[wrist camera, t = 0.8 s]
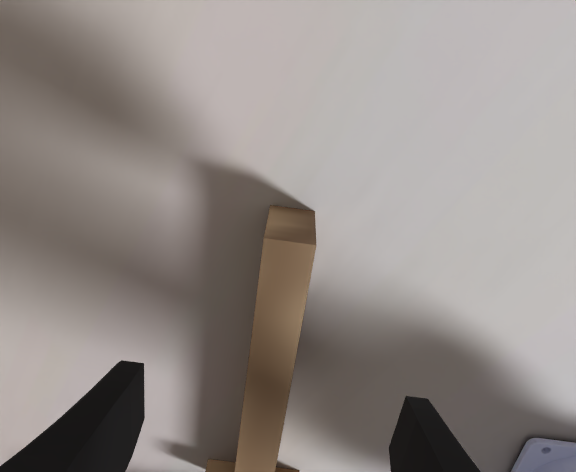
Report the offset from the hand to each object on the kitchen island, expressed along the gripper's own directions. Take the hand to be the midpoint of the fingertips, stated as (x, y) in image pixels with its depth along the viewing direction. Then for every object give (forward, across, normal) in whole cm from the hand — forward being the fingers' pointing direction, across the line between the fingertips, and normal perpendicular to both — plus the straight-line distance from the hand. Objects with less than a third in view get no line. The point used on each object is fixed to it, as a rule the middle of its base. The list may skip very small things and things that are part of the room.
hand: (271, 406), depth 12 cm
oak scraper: (+10, 0, +6) cm, 11 cm away
